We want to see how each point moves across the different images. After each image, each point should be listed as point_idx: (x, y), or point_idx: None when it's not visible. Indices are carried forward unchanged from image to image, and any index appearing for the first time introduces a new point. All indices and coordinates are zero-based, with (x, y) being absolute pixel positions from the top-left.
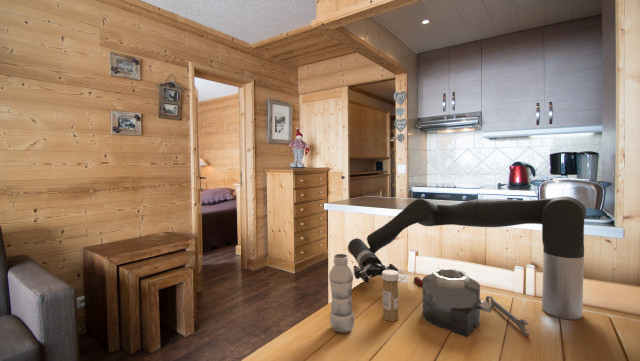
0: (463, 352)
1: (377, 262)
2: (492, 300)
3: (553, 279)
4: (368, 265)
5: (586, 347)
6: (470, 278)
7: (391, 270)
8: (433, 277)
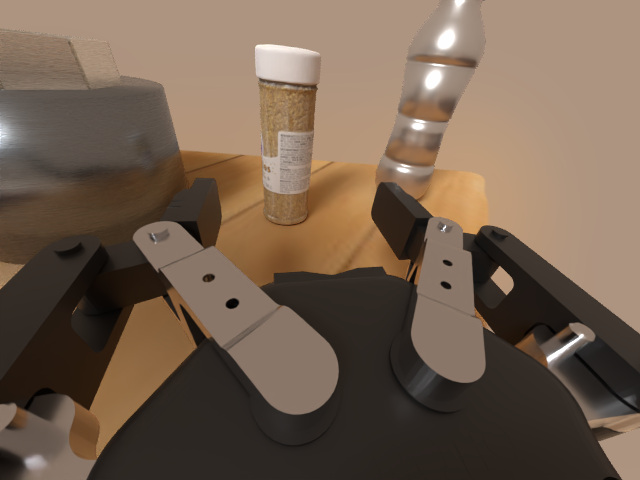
0: (198, 154)
1: None
2: None
3: None
4: (453, 307)
5: None
6: None
7: (278, 46)
8: (91, 65)
